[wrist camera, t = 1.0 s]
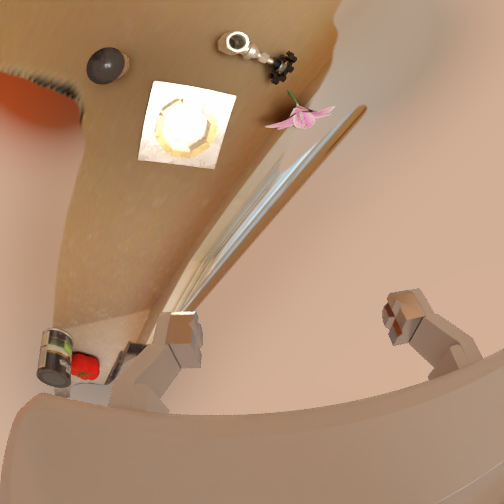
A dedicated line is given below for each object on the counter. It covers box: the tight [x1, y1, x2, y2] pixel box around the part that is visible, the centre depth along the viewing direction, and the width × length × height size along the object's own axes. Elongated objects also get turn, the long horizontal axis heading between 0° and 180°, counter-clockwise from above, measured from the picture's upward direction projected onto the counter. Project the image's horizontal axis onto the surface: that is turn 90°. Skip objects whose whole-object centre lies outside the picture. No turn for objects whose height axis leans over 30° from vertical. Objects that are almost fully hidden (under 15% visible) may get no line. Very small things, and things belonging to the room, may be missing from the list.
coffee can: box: [37, 328, 73, 388], centre depth 58 cm, size 10×10×14 cm
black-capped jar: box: [87, 48, 130, 84], centre depth 29 cm, size 5×5×9 cm
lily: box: [265, 90, 335, 129], centre depth 44 cm, size 12×12×10 cm
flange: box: [138, 81, 236, 169], centre depth 42 cm, size 14×14×3 cm
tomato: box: [71, 353, 100, 380], centre depth 70 cm, size 10×11×6 cm
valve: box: [217, 31, 297, 85], centre depth 35 cm, size 7×7×12 cm
